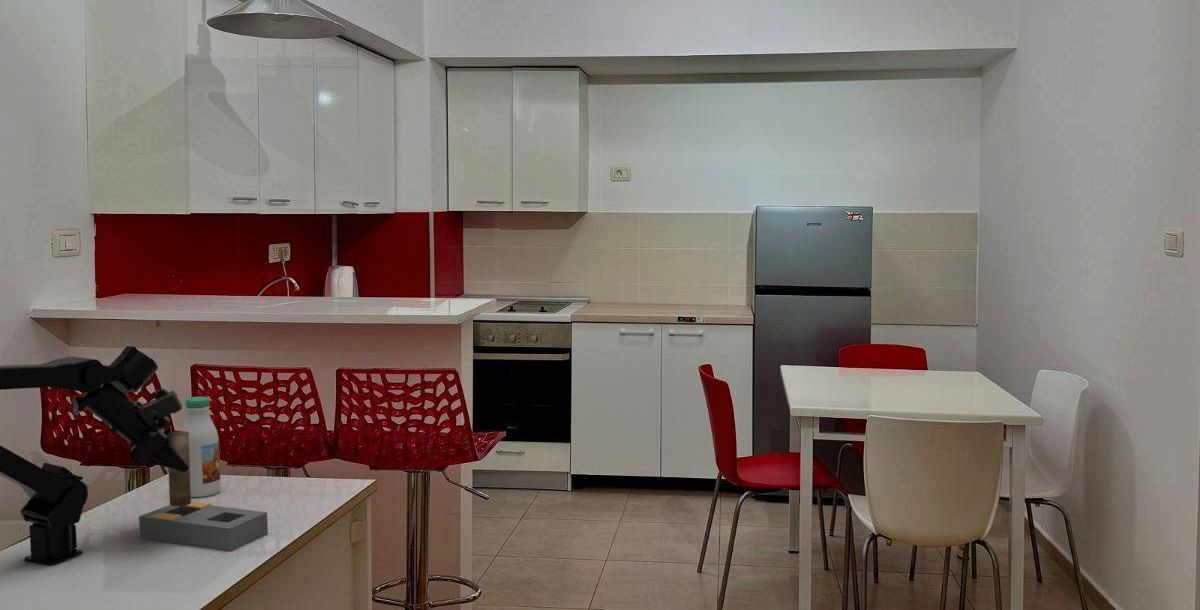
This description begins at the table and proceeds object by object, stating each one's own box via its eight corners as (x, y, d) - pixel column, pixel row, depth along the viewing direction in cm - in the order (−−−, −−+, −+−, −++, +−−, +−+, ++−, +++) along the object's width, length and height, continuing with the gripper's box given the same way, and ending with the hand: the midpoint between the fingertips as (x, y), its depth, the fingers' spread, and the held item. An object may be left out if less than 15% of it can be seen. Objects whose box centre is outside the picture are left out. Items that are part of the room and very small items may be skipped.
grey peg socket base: (267, 533, 187) (267, 510, 186) (230, 551, 178) (229, 527, 177) (180, 521, 194) (179, 499, 193) (139, 538, 184) (138, 514, 184)
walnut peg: (181, 507, 184) (178, 436, 183) (165, 505, 186) (162, 434, 184) (195, 501, 188) (193, 432, 187) (179, 499, 189) (177, 430, 188)
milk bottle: (188, 500, 208) (185, 403, 206) (175, 492, 213) (171, 397, 211) (226, 493, 213) (223, 398, 211) (212, 485, 218) (209, 393, 216)
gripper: (149, 386, 174) (220, 445, 179) (155, 370, 192) (219, 424, 197) (99, 435, 172) (173, 493, 177) (110, 414, 190) (176, 467, 195)
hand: (187, 467), depth 187 cm, fingers closed on walnut peg, 4 cm apart
